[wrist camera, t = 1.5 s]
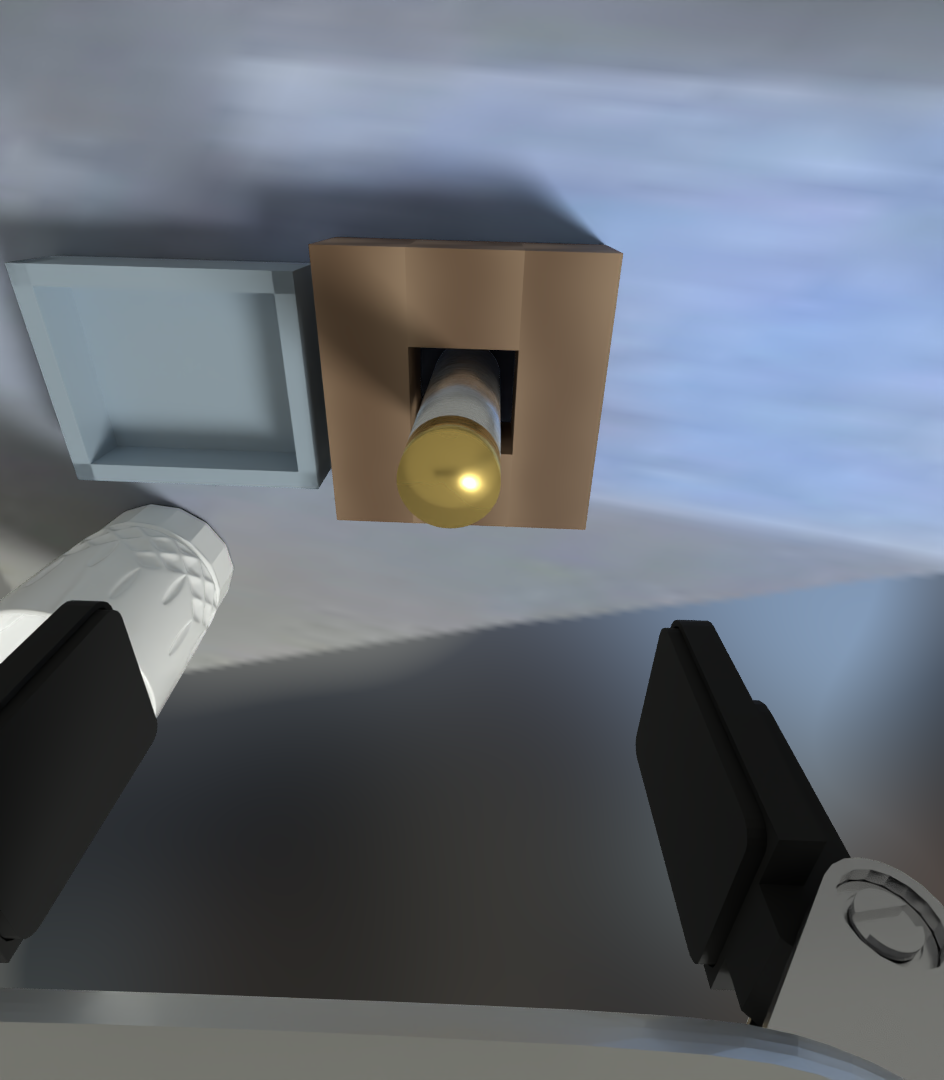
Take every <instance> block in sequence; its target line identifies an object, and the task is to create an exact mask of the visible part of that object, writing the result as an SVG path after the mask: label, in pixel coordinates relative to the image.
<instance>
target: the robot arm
mask: <svg viewBox="0 0 944 1080" xmlns="http://www.w3.org/2000/svg"><path fill="white" fill-rule="evenodd" d="M156 733H157V719H156V716H155V713H154V710H153V707H152V704H151V701H150V698H149V695H148V692H147V689H146V686H145V683H144V680H143V677H142V674H141V671H140V668H139V665H138V662H137V659H136V657H135V654H134V651H133V648H132V645H131V642H130V639H129V636H128V633H127V630H126V627H125V624H124V621H123V618H122V616H121V614H120V613H119V612H118V611H116V610H113V608H112V606H111V605H110V604H109V603H108V602H104V601H83V600H71V601H67V602H65V603H64V604H62V605H61V606H60V607H59V608H58V609H57V610H56V611H55V612H54V613H53V614H52V615H51V616H50V617H49V618H48V619H47V620H45V621H44V622H43V623H42V624H41V625H40V626H39V627H38V628H37V629H36V630H35V631H34V632H33V633H32V634H31V635H30V636H29V637H28V638H27V639H26V640H25V641H23V642H22V643H21V644H20V645H19V646H18V647H17V648H16V649H15V650H14V651H13V652H12V653H11V654H10V655H9V656H8V657H7V658H6V659H5V660H4V661H3V662H2V663H0V963H8V962H9V961H10V959H11V958H12V956H13V955H14V953H15V951H16V950H17V948H18V946H19V945H20V943H21V942H22V940H23V939H26V938H28V937H30V936H31V935H33V933H35V932H36V930H37V929H38V928H39V926H40V925H41V923H42V921H43V920H44V918H45V917H46V915H47V914H48V912H49V910H50V909H51V907H52V906H53V904H54V902H55V901H56V899H57V897H58V896H59V894H60V893H61V891H62V889H63V888H64V886H65V884H66V883H67V881H68V880H69V878H70V876H71V875H72V873H73V871H74V870H75V868H76V867H77V865H78V863H79V862H80V860H81V858H82V857H83V855H84V853H85V852H86V850H87V849H88V847H89V845H90V844H91V842H92V841H93V839H94V837H95V836H96V834H97V832H98V831H99V829H100V827H101V826H102V824H103V823H104V821H105V819H106V818H107V816H108V814H109V813H110V811H111V809H112V808H113V806H114V805H115V803H116V801H117V800H118V798H119V797H120V795H121V793H122V792H123V790H124V788H125V787H126V785H127V784H128V782H129V780H130V779H131V777H132V775H133V774H134V772H135V771H136V769H137V767H138V766H139V764H140V762H141V761H142V759H143V758H144V756H145V754H146V753H147V751H148V749H149V748H150V746H151V745H152V743H153V741H154V739H155V736H156ZM636 755H637V760H638V763H639V767H640V771H641V775H642V778H643V782H644V786H645V789H646V793H647V797H648V801H649V805H650V808H651V812H652V816H653V819H654V823H655V827H656V831H657V834H658V838H659V842H660V846H661V850H662V853H663V857H664V861H665V864H666V868H667V872H668V876H669V880H670V883H671V887H672V891H673V894H674V898H675V902H676V906H677V909H678V913H679V916H680V921H681V925H682V928H683V932H684V936H685V940H686V943H687V947H688V950H689V953H690V956H691V958H692V960H693V962H694V963H695V964H704V968H705V971H706V975H707V978H708V982H709V985H710V989H715V990H716V989H717V990H735V991H736V995H737V998H738V1001H739V1004H740V1008H741V1010H742V1011H743V1012H744V1013H745V1014H746V1015H747V1016H748V1017H749V1018H748V1021H747V1023H746V1024H741V1023H731V1022H723V1021H715V1020H706V1019H698V1018H689V1017H678V1016H661V1015H645V1014H630V1013H614V1012H598V1011H582V1010H566V1009H544V1008H520V1007H498V1006H475V1005H451V1004H429V1003H406V1002H383V1001H357V1000H330V999H306V998H281V997H254V996H227V995H200V994H173V993H144V992H143V993H142V992H115V991H84V990H53V989H23V988H0V1080H944V907H943V906H942V905H941V903H940V902H939V901H938V900H937V899H936V898H935V897H934V896H933V895H932V894H930V893H929V892H928V891H927V890H926V889H925V888H924V887H923V886H922V885H921V884H919V883H918V882H916V881H915V880H913V879H912V878H911V877H909V876H907V875H906V874H904V873H903V872H902V871H900V870H897V869H895V868H893V867H891V866H889V865H887V864H884V863H882V862H879V861H875V860H870V859H866V858H862V857H861V858H851V857H850V856H849V854H848V852H847V850H846V848H845V847H844V845H843V843H842V841H841V839H840V837H839V836H838V834H837V832H836V830H835V828H834V826H833V825H832V823H831V821H830V819H829V817H828V816H827V814H826V812H825V810H824V808H823V807H822V805H821V803H820V801H819V799H818V797H817V796H816V794H815V792H814V790H813V788H812V787H811V785H810V783H809V781H808V779H807V777H806V776H805V774H804V772H803V770H802V768H801V766H800V765H799V763H798V761H797V759H796V757H795V756H794V754H793V752H792V750H791V748H790V746H789V745H788V743H787V741H786V739H785V738H784V736H783V734H782V732H781V730H780V729H779V726H778V725H777V723H776V721H775V719H774V717H773V716H772V714H771V712H770V711H769V709H768V708H767V706H766V705H765V704H764V703H762V702H761V701H757V700H752V698H751V696H750V694H749V692H748V690H747V689H746V687H745V685H744V683H743V681H742V679H741V677H740V675H739V673H738V671H737V670H736V668H735V666H734V664H733V662H732V660H731V658H730V657H729V654H728V653H727V651H726V649H725V647H724V645H723V643H722V641H721V639H720V637H719V636H718V634H717V632H716V630H715V628H714V626H713V625H712V623H711V622H709V621H695V620H675V621H674V622H673V623H672V625H671V628H663V629H662V630H661V633H660V635H659V640H658V644H657V649H656V653H655V657H654V662H653V666H652V670H651V675H650V679H649V683H648V688H647V692H646V696H645V701H644V705H643V709H642V714H641V718H640V722H639V727H638V732H637V736H636Z"/></svg>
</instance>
